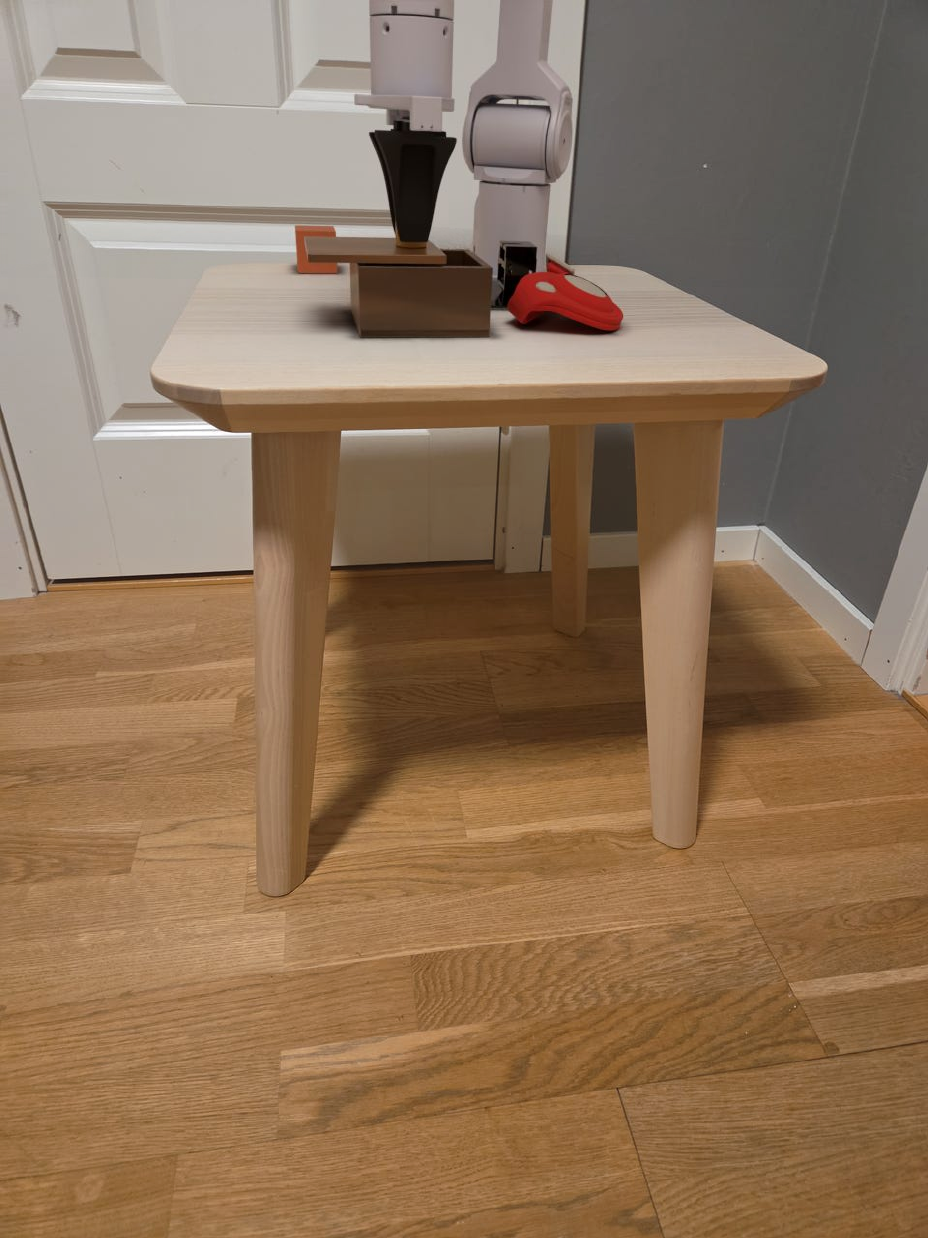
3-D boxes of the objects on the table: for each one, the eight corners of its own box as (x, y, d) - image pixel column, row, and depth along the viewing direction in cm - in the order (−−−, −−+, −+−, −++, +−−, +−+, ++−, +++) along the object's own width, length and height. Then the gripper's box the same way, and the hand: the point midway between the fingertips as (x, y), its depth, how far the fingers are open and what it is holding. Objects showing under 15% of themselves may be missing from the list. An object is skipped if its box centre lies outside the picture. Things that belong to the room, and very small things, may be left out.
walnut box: (351, 311, 69) (348, 247, 66) (467, 311, 71) (469, 249, 68) (360, 337, 62) (358, 266, 59) (489, 336, 63) (493, 267, 61)
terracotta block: (297, 266, 87) (294, 225, 85) (335, 266, 88) (333, 225, 85) (298, 273, 84) (295, 230, 81) (337, 273, 84) (335, 230, 82)
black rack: (469, 284, 83) (471, 233, 80) (540, 285, 83) (544, 235, 81) (487, 309, 72) (490, 251, 70) (568, 310, 73) (574, 253, 71)
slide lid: (304, 244, 66) (301, 186, 63) (427, 245, 67) (428, 190, 65) (308, 262, 58) (304, 198, 56) (446, 264, 60) (448, 201, 58)
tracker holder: (652, 314, 67) (564, 295, 61) (626, 363, 69) (539, 349, 63) (570, 249, 73) (483, 226, 67) (549, 296, 76) (463, 278, 70)
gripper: (345, 24, 61) (351, 225, 68) (362, 5, 49) (367, 252, 56) (438, 29, 62) (434, 226, 69) (477, 13, 50) (468, 253, 57)
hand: (411, 238), depth 63 cm, fingers closed on slide lid, 2 cm apart
